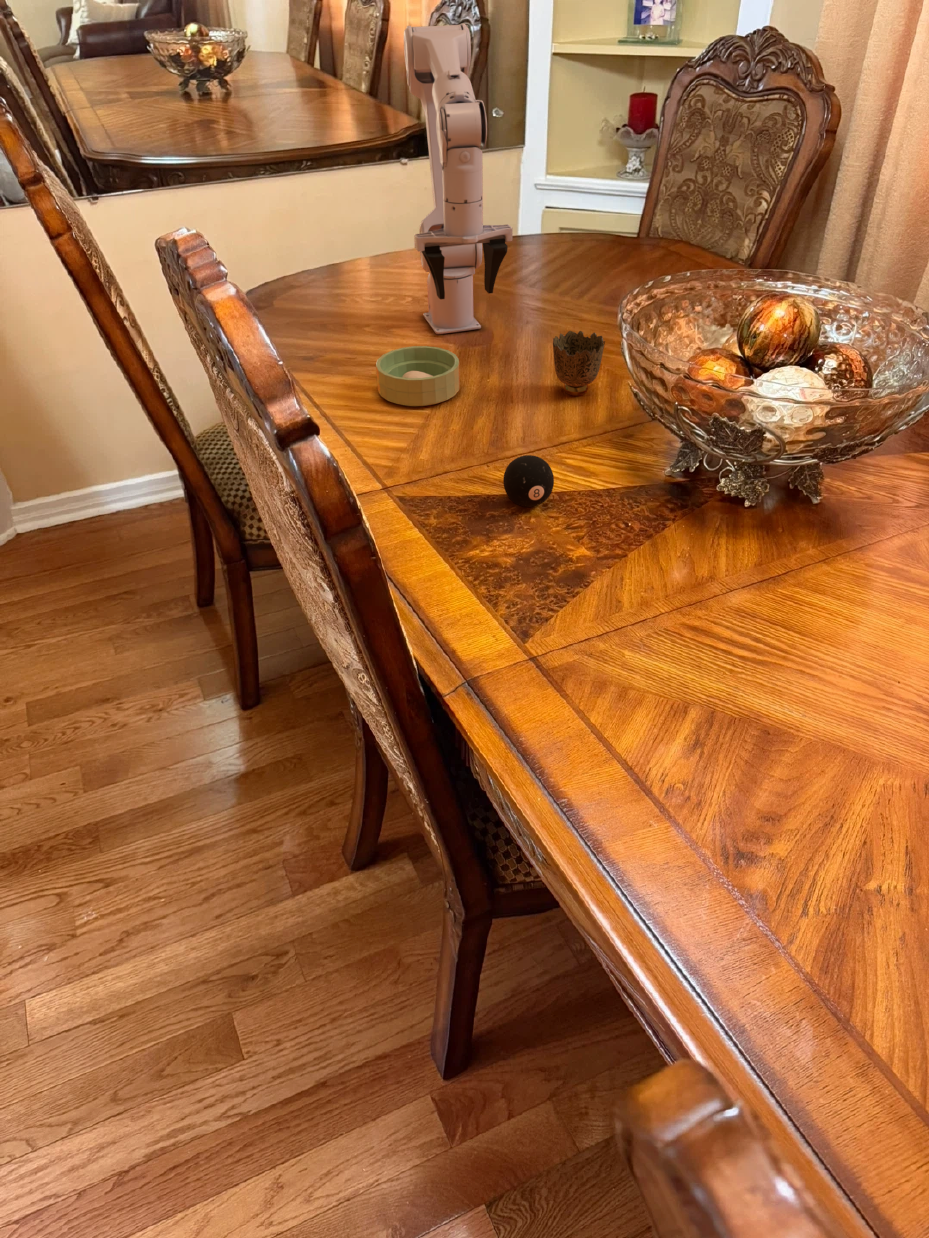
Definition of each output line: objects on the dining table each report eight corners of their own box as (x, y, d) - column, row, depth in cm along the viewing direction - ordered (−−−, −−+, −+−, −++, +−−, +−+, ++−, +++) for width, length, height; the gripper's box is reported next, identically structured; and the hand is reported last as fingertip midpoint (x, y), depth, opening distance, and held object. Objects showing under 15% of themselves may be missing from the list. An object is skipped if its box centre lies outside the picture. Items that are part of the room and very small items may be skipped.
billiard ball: (512, 519, 106) (512, 475, 102) (497, 494, 110) (497, 450, 106) (559, 511, 107) (562, 467, 103) (542, 486, 111) (544, 443, 108)
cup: (542, 397, 131) (544, 345, 126) (562, 378, 136) (564, 327, 131) (589, 407, 128) (593, 353, 123) (607, 387, 133) (612, 335, 128)
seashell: (398, 385, 134) (397, 369, 133) (430, 379, 136) (429, 363, 134) (407, 396, 131) (406, 380, 130) (439, 390, 132) (439, 374, 131)
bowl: (371, 380, 137) (368, 352, 134) (447, 369, 140) (446, 341, 137) (388, 414, 128) (385, 384, 125) (469, 402, 130) (468, 373, 128)
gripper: (420, 210, 123) (425, 308, 131) (519, 200, 126) (518, 297, 134) (408, 198, 128) (414, 293, 137) (504, 189, 131) (503, 282, 140)
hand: (464, 294), depth 136 cm, fingers open, 7 cm apart
